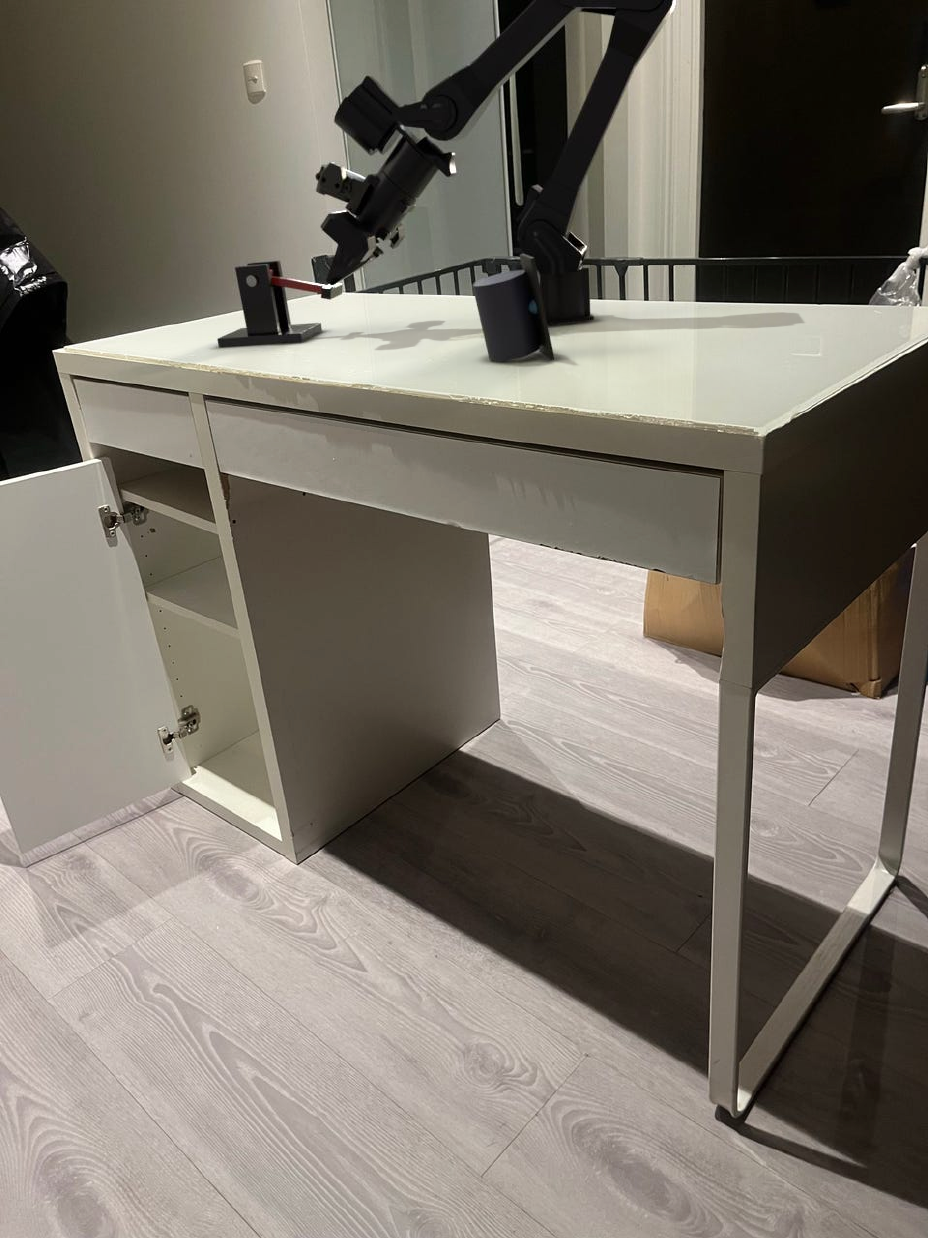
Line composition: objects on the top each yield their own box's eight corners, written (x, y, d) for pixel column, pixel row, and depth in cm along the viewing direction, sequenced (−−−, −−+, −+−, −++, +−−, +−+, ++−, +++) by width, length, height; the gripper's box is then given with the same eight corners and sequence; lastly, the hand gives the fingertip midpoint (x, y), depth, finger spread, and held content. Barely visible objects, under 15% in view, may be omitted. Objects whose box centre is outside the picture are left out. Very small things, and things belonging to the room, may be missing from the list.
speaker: (560, 346, 101) (544, 247, 97) (554, 360, 97) (538, 256, 92) (493, 357, 103) (475, 260, 99) (484, 371, 99) (464, 270, 94)
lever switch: (322, 331, 129) (310, 256, 124) (302, 342, 122) (289, 263, 117) (242, 336, 131) (228, 263, 127) (218, 347, 124) (202, 270, 120)
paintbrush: (341, 298, 125) (343, 279, 123) (330, 303, 120) (331, 284, 119) (257, 282, 126) (257, 264, 125) (242, 288, 122) (242, 269, 120)
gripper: (370, 135, 121) (305, 233, 128) (324, 135, 105) (253, 247, 112) (435, 195, 123) (367, 288, 130) (399, 205, 107) (324, 310, 114)
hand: (329, 282), depth 122 cm, fingers closed
